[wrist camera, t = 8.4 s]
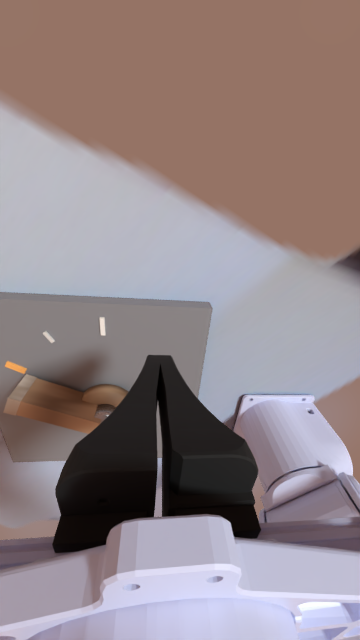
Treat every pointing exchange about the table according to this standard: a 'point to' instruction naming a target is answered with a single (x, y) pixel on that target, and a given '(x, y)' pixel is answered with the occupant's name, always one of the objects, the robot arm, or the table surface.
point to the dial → (64, 403)
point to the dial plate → (89, 354)
